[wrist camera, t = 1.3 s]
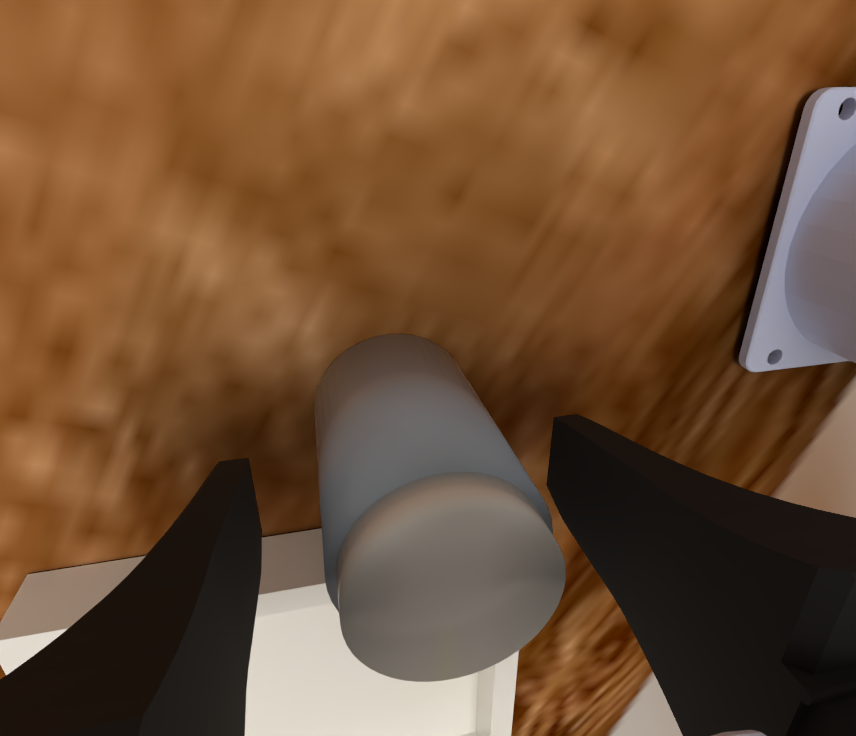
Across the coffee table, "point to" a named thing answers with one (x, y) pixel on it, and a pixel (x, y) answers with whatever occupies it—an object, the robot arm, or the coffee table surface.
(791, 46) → the coffee table surface
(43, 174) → the coffee table surface
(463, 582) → the cylinder
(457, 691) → the tray
